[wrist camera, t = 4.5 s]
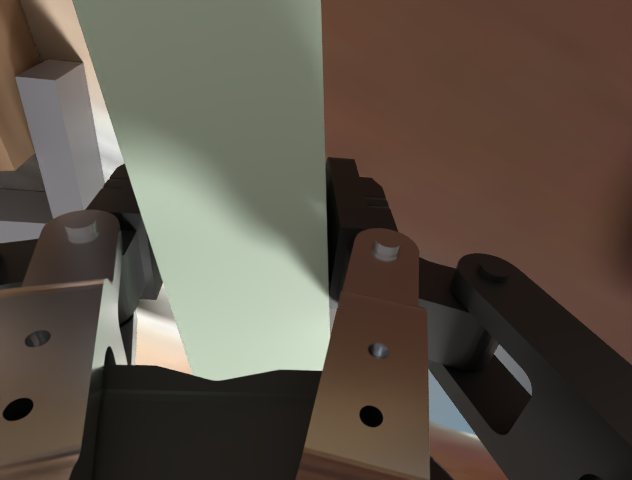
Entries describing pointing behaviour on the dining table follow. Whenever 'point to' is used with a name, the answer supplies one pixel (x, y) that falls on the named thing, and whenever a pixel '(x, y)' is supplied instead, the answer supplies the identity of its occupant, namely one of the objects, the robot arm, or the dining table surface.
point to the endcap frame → (54, 149)
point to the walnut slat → (14, 85)
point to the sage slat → (225, 168)
